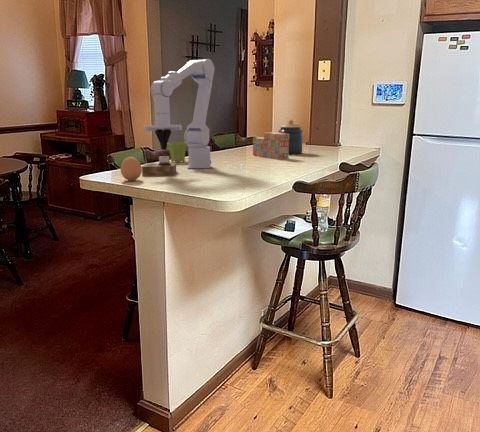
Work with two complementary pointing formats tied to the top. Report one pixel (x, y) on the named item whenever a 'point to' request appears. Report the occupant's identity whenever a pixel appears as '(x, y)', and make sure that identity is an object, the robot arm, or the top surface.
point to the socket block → (158, 169)
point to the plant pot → (177, 151)
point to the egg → (131, 168)
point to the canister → (293, 136)
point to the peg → (164, 160)
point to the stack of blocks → (272, 146)
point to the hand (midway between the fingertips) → (163, 149)
